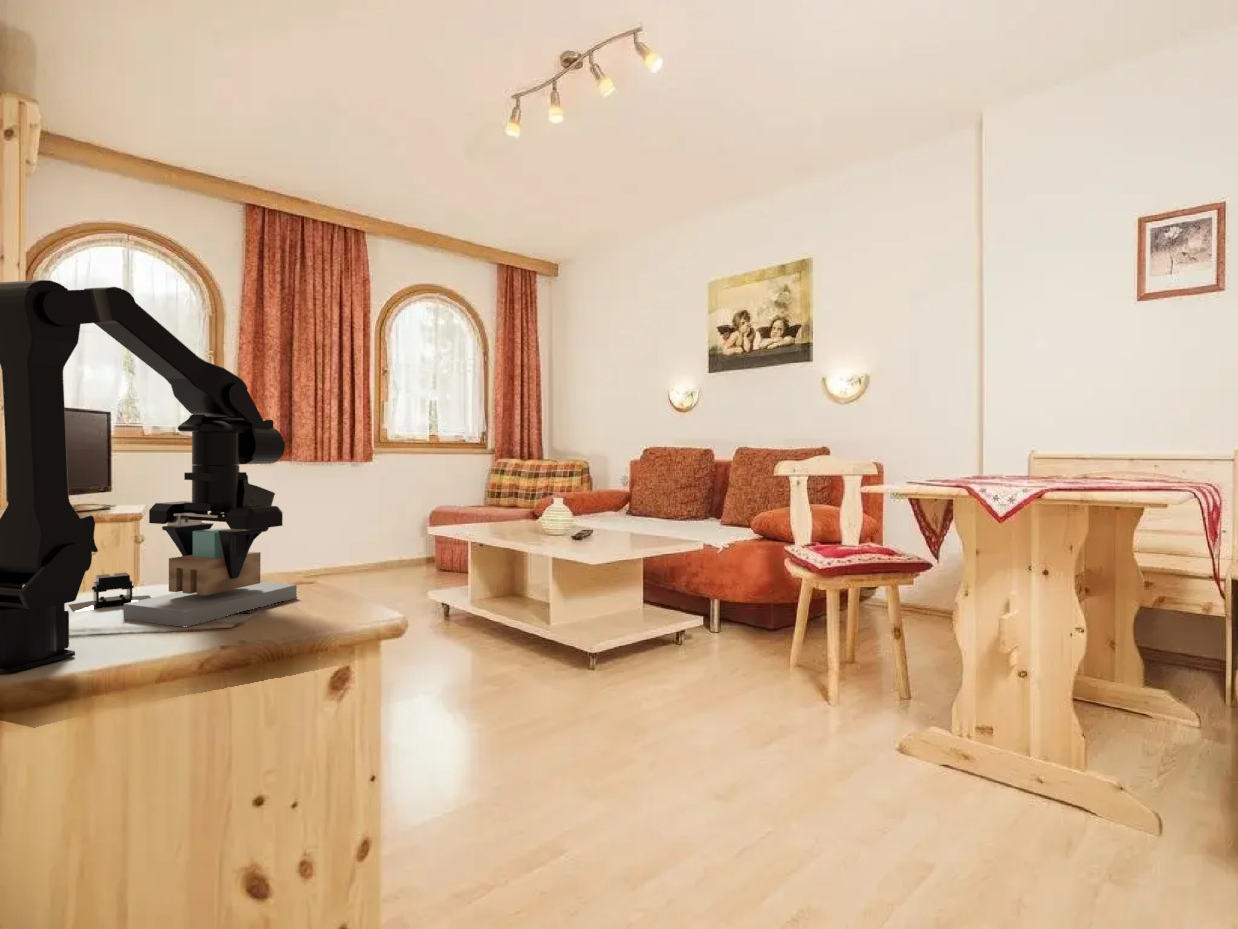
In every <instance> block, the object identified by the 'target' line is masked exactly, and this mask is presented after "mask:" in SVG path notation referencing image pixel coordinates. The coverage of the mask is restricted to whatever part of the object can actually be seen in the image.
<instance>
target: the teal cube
mask: <svg viewBox="0 0 1238 929" xmlns="http://www.w3.org/2000/svg"><path fill="white" fill-rule="evenodd" d="M229 529H230V528H223V527H222V528H221V527H220V528H219V527H218V528H210V529H207V530H198V531H193V556H194V557H206V558H219V557H224V554H223V550H222V545H221V541H220V537H219V532H218V531H221V530H229Z"/></svg>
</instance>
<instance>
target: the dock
mask: <svg viewBox="0 0 1238 929" xmlns="http://www.w3.org/2000/svg"><path fill="white" fill-rule="evenodd" d="M297 587H298V586H297V584H293V583H282V582H273V581H272V582H271V581H261V580H260V583H259V584H255V585H250V586H245V587H241V588H236V589H232V590H227V591H223V592H218V593H214V594H209V595H197V593H192V594H187V593H183V591H180V592H171V593H169V594H164V595H159V596H158V595H157V596H155V597H151V598H149V599H144V600H139V601H134V602H130V603H125V604H123V609H122V610H123V611H122V612H123V614H122V615H123V620H126V621H127V620H129V621H134V622H135V621H137V622H141V623H142V622H143V623H150V624H157V625H158V624H159V625H164V624H165V625H164V626H171V625H174V626H173V627H178V626H185V627H184V628H187V627H186V626H189V627H192V626H191V625H193V626H195V625H194V624H197V625H200V624H199V623H201V624H204V623H208V622H211V621H210V620H212V621H214V620H213V619H216V620H219V619H223V618H226V617H225V616H227V615H230V614H233V613H238V614H240V613H239V612H242V611H245V610H249V609H253V608H257V609H259V608H258V607H261V608H265V607H268V606H272V605H275V604H274V603H276V604H278V603H277V602H280V603H282V602H281V601H284V602H287V601H290V600H295V599H297V593H298V592H297V589H298V588H297ZM271 604H272V605H271ZM267 605H268V606H267ZM264 606H265V607H264ZM253 610H254V609H253ZM242 613H243V612H242ZM222 617H223V618H222ZM227 617H228V616H227ZM207 621H208V622H207ZM203 622H204V623H203Z"/></svg>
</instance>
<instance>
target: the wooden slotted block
mask: <svg viewBox="0 0 1238 929" xmlns="http://www.w3.org/2000/svg"><path fill="white" fill-rule="evenodd" d="M261 554H262V553H261V552H259V551H251V550H249V551H248V554H247V556H246V559H245V561H244V564H243V567H242V569H241V572H240V574H239V577H238V578H234V579H231V578H230V577H229V574H228V571H227V567H226V563H225V559H224V557H219V558H206V557H194V556H193V555H188V556H182V555H181V556H175V557H170V558H169V557H168V592H171V593H177V592H182V591H183V593H187V594H192V593H197V595H209V594H214V593H218V592H223V591H227V590H232V589H236V588H241V587H245V586H250V585H255V584H259V583H260V581H261V556H262V555H261Z"/></svg>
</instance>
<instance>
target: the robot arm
mask: <svg viewBox="0 0 1238 929" xmlns="http://www.w3.org/2000/svg"><path fill="white" fill-rule="evenodd" d="M85 324H87V325H88V324H95V325H96V326H97V327H99V328H100V329H101V330H103V331H104V332H105V333H106V334H107V335H109V336H110V337H111V338H112V339H113V340H115V341H116V342H117V343H119V344H120V345H122V346H123V347H124V348H125V349H127V350H128V351H129V352H130V353H132V354H133V355H135V356H136V357H137V358H138V359H140V361H141V362H143V363H145V365H147V366H148V367H150V368H151V369H153V370H152V371H155V372H156V373H157V374H158V375H159V376H161V377H162V378H163V379H165V380H166V381H167V383H168V384H170V386H171V390H172V393H173V396H174V398H175V399H176V400H177V401H178V402H179V403H180V404H181V405H182V406H183V407H184V408H185V409H186V411H187V412H189V413H190V415H189V417H188V419H186V420H185V421H183V422H182V423H181V424H180V425H178V426H177V431H179V432H187V433H189V432H190V433H191V472H190V471H189V472H188V471H187V472H184V478H183V479H184V480H185V481H191V501H189V500H183V501H182V500H179V501H169V502H168V501H167V502H155V503H154V504H153V505H152V507H151V508H149V510H148V514H149V515H148V523H149V524H156V525H163V526H162V527H161V529H162V531H165V532H166V533H167V534H168V536H169V538H170V539H171V541H172V542H173V543H174V545H175V546H176V548H177V549H178V551H179V552H180V554H181V556H188V555H193V531H198V530H207V529H212V527H213V526H214V523H213V522H218V523H220V522H221V523H226V524H227V526H228V527H229V528H228V529H229V530H221V531H218V532H219V537H220V541H221V545H222V550H223V554H224V559H225V563H226V567H227V571H228V574H229V577H230V578H231V579H234V578H238V577H239V574H240V572H241V569H242V567H243V564H244V561H245V559H246V556H247V554H248V551H250V550H251V547H252V544H254V540H256V539H257V538H258V536H260V535H261V534H262V533H265V532H268V531H269V528H274V527H275V528H276V527H283V522H284V521H283V520H284V519H283V514H284V512H283V511H282V510H281V509H280V508H279V506H277V505H273V502H274V498H275V495H276V493H275V492H274V491H271V490H268V489H266V488H263V487H260V486H257V485H254V484H251V483H249V475H248V474H247V472H244V471H240V465H267V464H268V465H269V464H275V463H277V462H279V461H280V459H282V457H283V455H284V454H285V450H286V442H285V441H284V438H283V435H282V434H281V433H280V431H279V430H278V429H276V428H275V427H274V420H273V419H263V416H262V415H261V413H260V412H259V410H258V408H257V406H256V404H255V402H254V400H253V398H252V397H251V394H250V392H249V390H248V386H247V383H245V382H244V380H243V379H242V378H241V377H240V376H238V375H237V374H234V373H232V372H231V371H229V370H228V369H226V368H225V367H223V366H219V365H217V364H214V363H211V362H208V361H206V360H205V359H203V358H201V357H200V356H198V355H197V354H196V353H195V352H193V351H192V350H191V349H190V348H189V347H188V346H187V345H186V344H184V343H183V342H182V341H181V340H180V339H178V338H177V337H176V335H174V334H173V333H171V331H169V330H168V329H167V327H165V326H163V324H161V323H160V322H159V321H158V320H156V319H155V317H153V315H151V314H150V313H148V312H147V311H146V310H145V309H144V308H143V307H142V306H140V305H139V304H138V303H137V302H136V300H135V298H134V297H133V295H132V294H131V293H130V292H129V291H128V290H126V289H123V288H121V287H118V286H102V287H88V288H87V287H86V288H84V289H68V288H66V287H65V286H64V285H62V284H61V283H58V282H56V281H53V280H48V279H47V280H45V279H44V280H43V279H41V280H40V279H36V280H21V281H19V280H17V281H3V282H2V281H0V369H1V376H2V377H1V378H2V379H1V380H2V397H3V417H4V418H3V419H4V433H5V434H4V435H5V438H4V439H5V454H6V474H7V477H6V479H7V495H8V502H7V506H6V508H5V509H4V512H3V513H2V514H1V517H0V674H10V673H14V672H19V671H22V670H26V669H30V668H34V667H38V666H42V665H45V664H49V663H53V662H56V661H57V662H58V661H61V660H64V659H67V658H72V657H75V656H76V651H75V650H71V649H68V648H69V647H70V611H69V610H67V609H66V608H65V607H66V606H65V605H66V604H68V603H73V602H75V601H76V600H77V597H78V594H79V591H80V589H81V585H82V582H83V580H84V578H85V574H86V572H88V571H89V570H90V568H91V565H92V561H93V553H97V552H99V550H98V548H97V545H96V543H95V530H96V522H95V519H94V516H93V515H88V514H79V513H77V511H76V509H75V508H74V507H73V505H72V503H71V502H70V496H69V495H70V494H69V493H70V492H69V475H68V474H69V473H68V453H67V432H66V430H67V429H66V411H65V410H66V409H65V408H66V407H65V388H64V386H65V385H64V368H65V366H66V364H67V362H68V361H69V359H70V358H71V355H72V354H73V353H74V351H75V349H76V347H77V346H78V344H79V339H80V333H81V332H80V331H81V325H85ZM204 521H206V522H204ZM208 522H209V523H208ZM211 522H212V523H211ZM165 524H166V525H165Z"/></svg>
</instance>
